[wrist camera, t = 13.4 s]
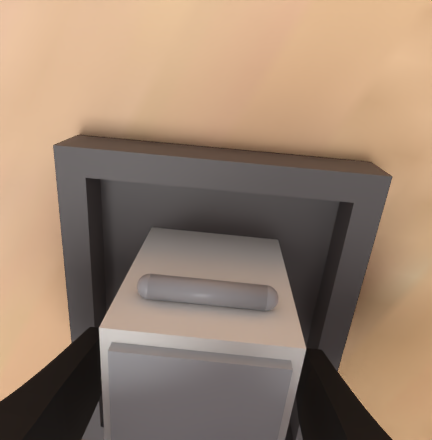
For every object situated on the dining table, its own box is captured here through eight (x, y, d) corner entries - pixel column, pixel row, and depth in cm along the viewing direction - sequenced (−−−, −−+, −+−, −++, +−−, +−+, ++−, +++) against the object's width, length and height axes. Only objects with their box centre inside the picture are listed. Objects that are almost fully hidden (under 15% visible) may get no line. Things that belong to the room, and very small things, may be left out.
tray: (370, 161, 13) (392, 176, 12) (304, 424, 19) (311, 462, 17) (77, 134, 14) (53, 145, 12) (95, 403, 19) (80, 439, 17)
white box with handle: (280, 224, 14) (314, 335, 8) (252, 389, 17) (262, 552, 11) (152, 211, 14) (93, 313, 8) (149, 378, 17) (105, 535, 11)
